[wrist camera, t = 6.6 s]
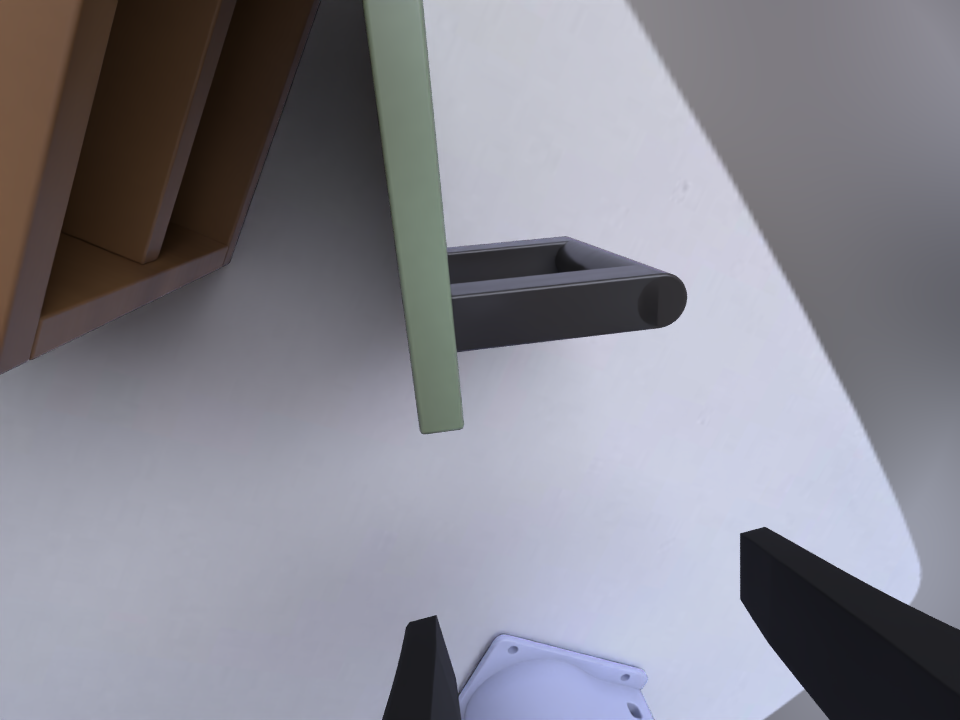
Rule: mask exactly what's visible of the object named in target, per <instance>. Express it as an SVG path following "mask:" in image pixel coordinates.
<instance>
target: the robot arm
mask: <svg viewBox="0 0 960 720" xmlns="http://www.w3.org/2000/svg"><path fill="white" fill-rule="evenodd" d="M740 599H741V601H742V603H743V604H744V606H745V607H746V609H747V611H748V612H749V614H750V615H751V617H752V619H753V620H754V622H755V623H756V625H757V626H758V628H759V629H760V631H761V632H762V634H763V635H764V637H765V639H766V640H767V642H768V643H769V644H770V646H771V647H772V648H773V650H774V651H775V652H776V653H777V655H778V656H779V657H780V659H781V660H782V661H783V662H784V664H785V665H786V666H787V667H788V669H789V670H790V671H791V672H792V674H793V675H794V676H795V677H796V679H797V680H798V681H799V682H800V684H801V685H802V686H803V687H804V689H805V690H806V691H807V692H808V693H809V695H810V696H811V697H812V698H813V699H814V701H815V702H816V703H817V705H818V706H819V707H820V708H821V710H822V711H823V712H824V713H825V715H826V716H827V717H828V718H829V720H960V630H959V629H956V628H954V627H952V626H949V625H948V624H946V623H944V622H942V621H939V620H937V619H935V618H933V617H931V616H929V615H927V614H925V613H923V612H921V611H919V610H917V609H915V608H913V607H911V606H909V605H907V604H905V603H903V602H901V601H899V600H897V599H895V598H893V597H891V596H889V595H887V594H886V593H884V592H882V591H880V590H878V589H876V588H874V587H872V586H870V585H868V584H867V583H865V582H863V581H861V580H859V579H857V578H856V577H854V576H852V575H850V574H848V573H846V572H845V571H843V570H841V569H839V568H837V567H836V566H834V565H832V564H830V563H828V562H827V561H825V560H823V559H821V558H820V557H818V556H816V555H814V554H812V553H811V552H809V551H807V550H805V549H804V548H802V547H800V546H798V545H797V544H795V543H793V542H791V541H790V540H788V539H786V538H784V537H782V536H781V535H779V534H777V533H775V532H773V531H772V530H770V529H768V528H766V527H763V528H759V529H755V530H752V531H748V532H744V533H740ZM512 646H513V647H512ZM647 681H648V677H647V675H646V673H645V671H644V670H643V669H639V668H636V667H632V666H628V665H624V664H620V663H616V662H612V661H608V660H604V659H600V658H597V657H593V656H589V655H585V654H581V653H577V652H573V651H569V650H565V649H561V648H558V647H554V646H550V645H546V644H542V643H538V642H534V641H530V640H526V639H522V638H519V637H515V636H511V635H507V634H502V635H499V636H497V637H496V638H495V639H494V641H493V643H492V644H491V646H490V647H489V649H488V650H487V652H486V654H485V655H484V657H483V658H482V660H481V662H480V663H479V665H478V666H477V668H476V670H475V671H474V673H473V674H472V676H471V678H470V679H469V681H468V682H467V684H466V686H465V687H464V689H463V690H462V692H461V693H460V695H459V697H458V690H457V683H456V677H455V674H454V671H453V667H452V664H451V661H450V658H449V654H448V651H447V648H446V645H445V641H444V638H443V635H442V632H441V628H440V625H439V622H438V619H437V615H435V616H431V617H427V618H424V619H420V620H416V621H413V622H410V623H409V624H408V625H407V627H406V630H405V635H404V640H403V645H402V649H401V654H400V658H399V662H398V666H397V670H396V674H395V678H394V681H393V685H392V689H391V692H390V695H389V699H388V702H387V705H386V708H385V712H384V715H383V718H382V720H654V718H653V716H652V714H651V712H650V709H649V707H648V705H647V703H646V701H645V698H644V696H643V694H642V692H641V689H642V688H643V687H644V685H645V684H646V683H647Z"/></svg>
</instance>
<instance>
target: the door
mask: <svg viewBox="0 0 960 720" xmlns="http://www.w3.org/2000/svg"><path fill="white" fill-rule="evenodd" d="M362 3H363V10H364V18H365V25H366V33H367V40H368V48H369V55H370V62H371V70H372V77H373V85H374V92H375V100H376V107H377V115H378V122H379V130H380V137H381V144H382V152H383V159H384V167H385V174H386V182H387V189H388V197H389V204H390V212H391V219H392V227H393V234H394V241H395V249H396V256H397V264H398V271H399V279H400V286H401V294H402V301H403V309H404V316H405V324H406V331H407V338H408V346H409V353H410V361H411V368H412V376H413V383H414V391H415V398H416V406H417V413H418V421H419V428H420V432H421V433H422V434H431V433H439V432H446V431H454V430H460V429H462V428H463V426H464V420H463V410H462V400H461V390H460V379H459V369H458V359H457V352H462V351H470V350H479V349H487V348H496V347H504V346H513V345H521V344H529V343H538V342H546V341H555V340H563V339H572V338H580V337H588V336H597V335H605V334H614V333H622V332H631V331H639V330H647V329H656V328H662V327H666V326H668V325H670V324H672V323H673V322H674V321H676V320H677V319H678V318H679V317H680V315H681V314H682V312H683V311H684V308H685V306H686V302H687V292H686V288H685V286H684V284H683V282H682V281H681V280H680V279H679V278H678V277H677V276H675V275H673V274H670V273H667V272H665V271H662V270H659V269H656V268H654V267H651V266H648V265H645V264H642V263H640V262H637V261H634V260H631V259H629V258H626V257H623V256H620V255H617V254H615V253H612V252H609V251H606V250H604V249H601V248H598V247H595V246H592V245H590V244H587V243H584V242H581V241H579V240H576V239H573V238H570V237H566V236H564V237H553V238H543V239H533V240H522V241H512V242H501V243H491V244H480V245H470V246H459V247H449V248H447V246H446V235H445V225H444V215H443V205H442V194H441V184H440V174H439V164H438V153H437V143H436V133H435V122H434V112H433V102H432V92H431V81H430V71H429V61H428V50H427V40H426V30H425V20H424V9H423V0H362Z"/></svg>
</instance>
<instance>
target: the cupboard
mask: <svg viewBox="0 0 960 720" xmlns="http://www.w3.org/2000/svg"><path fill="white" fill-rule="evenodd" d="M319 3H320V0H0V375H1V374H3V373H5V372H7V371H9V370H11V369H13V368H15V367H17V366H19V365H21V364H23V363H25V362H27V361H28V360H33V359H35V358H37V357H39V356H41V355H43V354H45V353H47V352H49V351H51V350H53V349H55V348H57V347H59V346H62V345H64V344H66V343H68V342H70V341H72V340H74V339H76V338H78V337H80V336H82V335H84V334H86V333H88V332H90V331H92V330H94V329H96V328H98V327H101V326H103V325H105V324H107V323H109V322H111V321H113V320H115V319H117V318H119V317H121V316H123V315H125V314H127V313H129V312H131V311H133V310H135V309H137V308H140V307H142V306H144V305H146V304H148V303H150V302H152V301H154V300H156V299H158V298H160V297H162V296H164V295H166V294H168V293H170V292H172V291H174V290H176V289H178V288H181V287H183V286H185V285H187V284H189V283H191V282H193V281H195V280H197V279H199V278H201V277H203V276H205V275H207V274H209V273H211V272H213V271H215V270H217V269H220V268H221V267H223V266H225V265H227V264H228V263H229V262H230V260H231V257H232V254H233V251H234V248H235V245H236V243H237V240H238V237H239V234H240V231H241V228H242V225H243V222H244V219H245V217H246V214H247V211H248V208H249V205H250V202H251V199H252V196H253V193H254V191H255V188H256V185H257V182H258V179H259V176H260V173H261V170H262V168H263V165H264V162H265V159H266V156H267V153H268V150H269V147H270V144H271V142H272V139H273V136H274V133H275V130H276V127H277V124H278V121H279V118H280V116H281V113H282V110H283V107H284V104H285V101H286V98H287V95H288V93H289V90H290V87H291V84H292V81H293V78H294V75H295V72H296V69H297V67H298V64H299V61H300V58H301V55H302V52H303V49H304V46H305V44H306V41H307V38H308V35H309V32H310V29H311V26H312V23H313V20H314V18H315V15H316V12H317V9H318V6H319Z"/></svg>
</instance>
